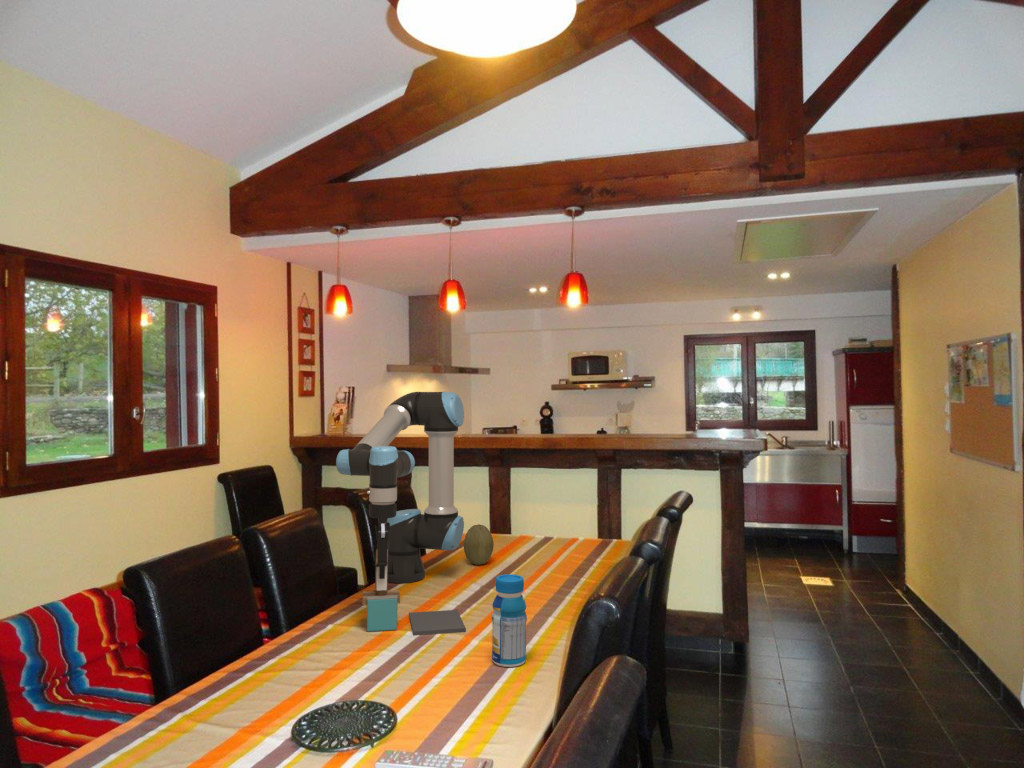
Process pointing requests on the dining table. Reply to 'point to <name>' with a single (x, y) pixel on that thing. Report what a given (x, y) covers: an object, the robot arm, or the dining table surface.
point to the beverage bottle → (509, 622)
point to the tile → (382, 613)
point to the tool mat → (436, 622)
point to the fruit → (478, 544)
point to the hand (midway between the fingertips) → (381, 587)
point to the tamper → (380, 592)
